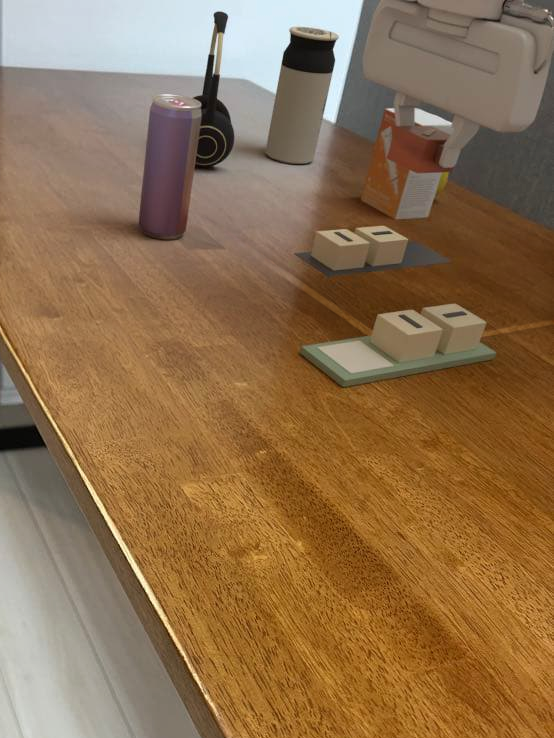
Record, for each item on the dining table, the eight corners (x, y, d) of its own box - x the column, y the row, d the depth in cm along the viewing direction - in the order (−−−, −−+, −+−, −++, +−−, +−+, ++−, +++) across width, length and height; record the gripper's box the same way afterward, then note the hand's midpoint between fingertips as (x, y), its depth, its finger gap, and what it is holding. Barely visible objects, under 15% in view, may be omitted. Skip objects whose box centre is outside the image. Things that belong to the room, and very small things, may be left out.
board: (414, 247, 113) (423, 217, 110) (451, 267, 108) (462, 237, 105) (292, 259, 104) (299, 227, 102) (326, 282, 100) (334, 250, 97)
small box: (358, 204, 124) (383, 107, 116) (392, 203, 126) (419, 107, 118) (393, 225, 119) (422, 124, 110) (427, 222, 121) (459, 124, 113)
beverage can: (156, 243, 103) (172, 108, 94) (128, 226, 107) (140, 94, 97) (194, 237, 106) (213, 106, 97) (166, 221, 110) (181, 92, 100)
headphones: (224, 151, 138) (247, 7, 126) (230, 179, 127) (256, 24, 114) (172, 144, 138) (189, 0, 125) (173, 172, 126) (192, 16, 114)
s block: (421, 157, 86) (431, 124, 84) (452, 172, 83) (463, 138, 81) (386, 158, 84) (395, 124, 82) (416, 173, 81) (427, 138, 79)
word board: (447, 329, 93) (459, 295, 90) (494, 359, 88) (508, 324, 86) (299, 353, 84) (308, 316, 82) (342, 387, 80) (353, 349, 77)
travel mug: (260, 158, 137) (283, 30, 126) (269, 147, 143) (292, 23, 132) (309, 168, 136) (337, 39, 124) (316, 156, 142) (343, 32, 130)
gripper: (591, 14, 69) (523, 190, 78) (423, -29, 82) (381, 125, 91) (537, 10, 66) (473, 192, 75) (373, -34, 80) (334, 125, 88)
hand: (422, 155), depth 83 cm, fingers closed on s block, 4 cm apart
